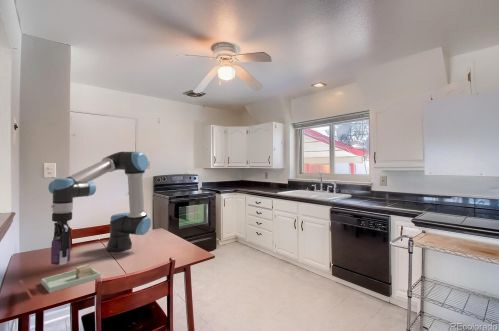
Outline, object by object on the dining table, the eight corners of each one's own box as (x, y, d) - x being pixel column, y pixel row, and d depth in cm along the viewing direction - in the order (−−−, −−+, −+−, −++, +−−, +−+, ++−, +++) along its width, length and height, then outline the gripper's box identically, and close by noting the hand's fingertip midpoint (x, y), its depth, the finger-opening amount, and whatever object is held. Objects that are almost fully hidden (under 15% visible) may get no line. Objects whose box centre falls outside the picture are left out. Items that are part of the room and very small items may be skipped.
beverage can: (73, 260, 121) (74, 234, 121) (63, 266, 114) (64, 239, 114) (57, 260, 121) (58, 234, 121) (46, 265, 114) (47, 239, 114)
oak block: (75, 277, 124) (76, 267, 124) (87, 274, 128) (87, 264, 128) (79, 280, 121) (79, 270, 121) (91, 277, 125) (91, 267, 125)
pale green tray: (41, 285, 117) (41, 278, 117) (89, 272, 133) (90, 266, 133) (49, 295, 109) (49, 287, 109) (100, 279, 125) (100, 273, 125)
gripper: (46, 209, 121) (44, 258, 121) (59, 216, 108) (57, 270, 108) (65, 208, 127) (63, 254, 127) (79, 213, 114) (77, 265, 114)
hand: (60, 261), depth 117 cm, fingers closed on beverage can, 7 cm apart
